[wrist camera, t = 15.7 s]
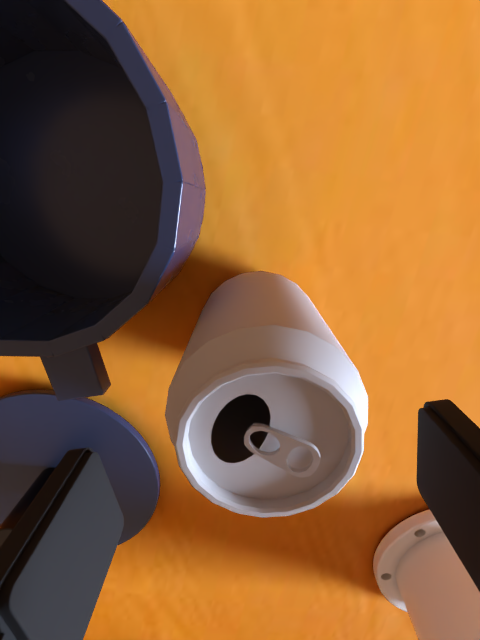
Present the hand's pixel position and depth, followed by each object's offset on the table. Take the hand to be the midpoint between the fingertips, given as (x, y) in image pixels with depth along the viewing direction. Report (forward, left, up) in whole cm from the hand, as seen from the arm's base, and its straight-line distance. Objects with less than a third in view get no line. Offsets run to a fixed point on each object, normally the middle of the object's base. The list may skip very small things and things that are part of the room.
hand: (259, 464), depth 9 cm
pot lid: (+17, +10, -12) cm, 23 cm away
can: (0, 0, -13) cm, 13 cm away
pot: (+9, -10, -13) cm, 18 cm away
